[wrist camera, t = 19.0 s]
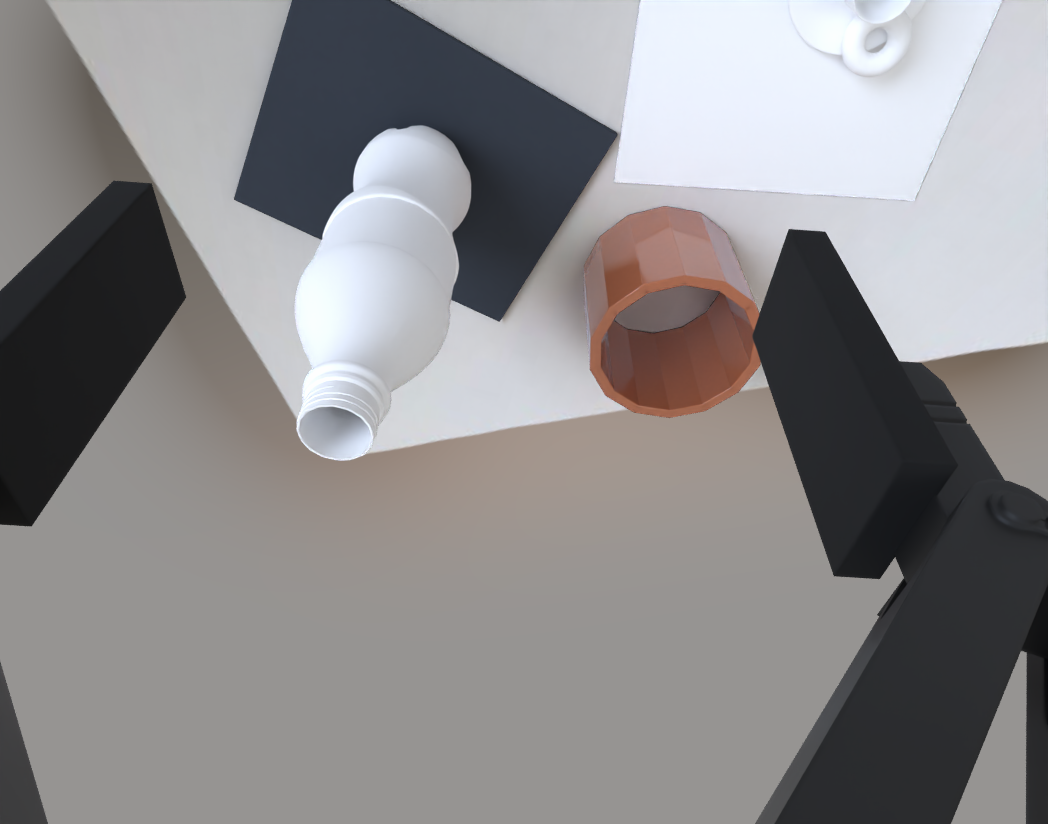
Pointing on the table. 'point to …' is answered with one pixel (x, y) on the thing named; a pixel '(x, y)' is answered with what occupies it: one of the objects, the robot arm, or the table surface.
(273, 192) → the mat
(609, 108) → the table surface
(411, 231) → the water bottle
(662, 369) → the terracotta flower pot
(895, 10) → the teacup and saucer
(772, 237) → the table surface
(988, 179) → the table surface
